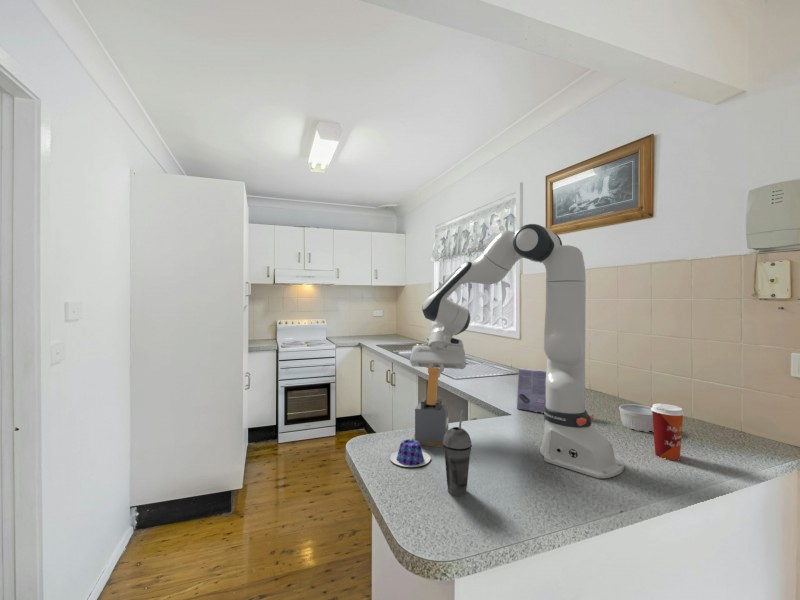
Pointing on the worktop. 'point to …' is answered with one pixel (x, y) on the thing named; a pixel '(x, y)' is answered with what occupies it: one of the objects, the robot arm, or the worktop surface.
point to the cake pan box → (531, 389)
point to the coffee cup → (667, 430)
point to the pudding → (410, 454)
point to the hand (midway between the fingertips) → (435, 376)
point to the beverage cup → (457, 459)
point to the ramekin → (637, 417)
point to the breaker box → (431, 423)
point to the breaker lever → (432, 387)
